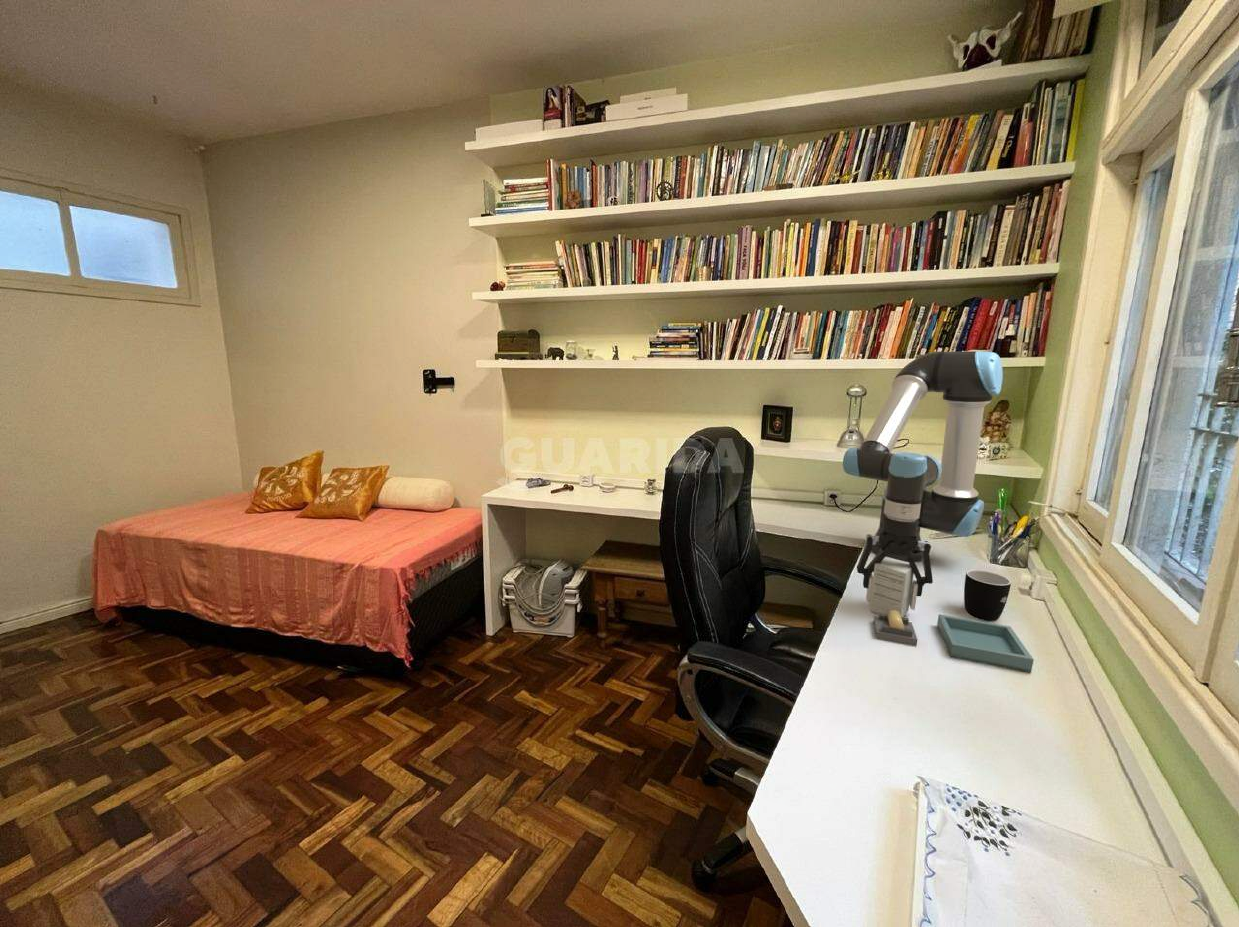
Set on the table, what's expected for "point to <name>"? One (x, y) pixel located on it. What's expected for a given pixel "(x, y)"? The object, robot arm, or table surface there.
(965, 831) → the table surface
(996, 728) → the table surface
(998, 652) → the parts tray
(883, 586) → the supplement box
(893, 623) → the fuse block
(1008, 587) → the mug
